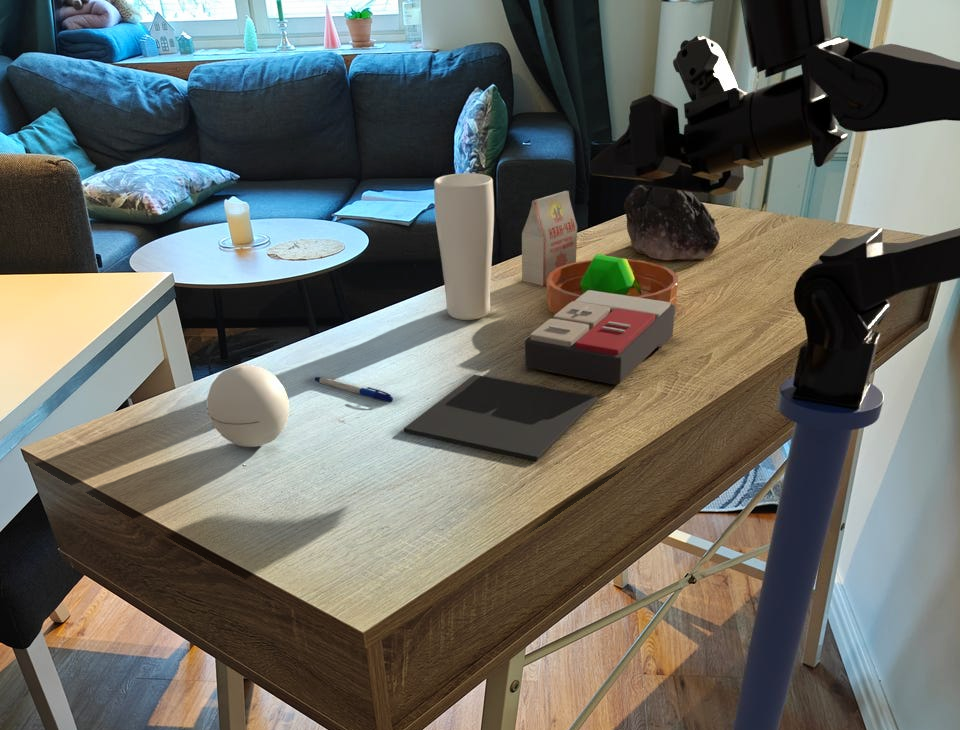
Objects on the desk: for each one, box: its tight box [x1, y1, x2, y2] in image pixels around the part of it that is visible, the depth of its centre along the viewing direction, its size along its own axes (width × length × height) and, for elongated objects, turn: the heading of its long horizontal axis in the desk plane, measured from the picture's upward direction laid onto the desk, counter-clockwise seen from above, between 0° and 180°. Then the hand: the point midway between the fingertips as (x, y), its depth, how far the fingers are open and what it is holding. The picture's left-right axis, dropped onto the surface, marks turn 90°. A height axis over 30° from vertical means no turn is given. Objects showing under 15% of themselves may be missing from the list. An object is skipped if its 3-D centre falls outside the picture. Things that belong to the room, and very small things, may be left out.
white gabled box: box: [521, 190, 578, 287], centre depth 117 cm, size 4×7×10 cm, turn 136°
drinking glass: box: [433, 172, 495, 321], centre depth 105 cm, size 7×7×15 cm
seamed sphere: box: [193, 363, 290, 448], centre depth 81 cm, size 10×7×7 cm
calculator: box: [524, 290, 676, 386], centre depth 96 cm, size 11×4×15 cm
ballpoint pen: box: [314, 376, 394, 403], centre depth 92 cm, size 10×1×1 cm, turn 57°
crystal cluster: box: [623, 184, 721, 261], centre depth 125 cm, size 13×14×10 cm
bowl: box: [545, 258, 679, 315], centre depth 109 cm, size 16×16×4 cm
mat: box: [403, 374, 598, 462], centre depth 87 cm, size 14×14×1 cm
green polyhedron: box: [580, 253, 642, 296], centre depth 108 cm, size 7×6×9 cm
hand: (613, 174), depth 91 cm, fingers open, 9 cm apart
